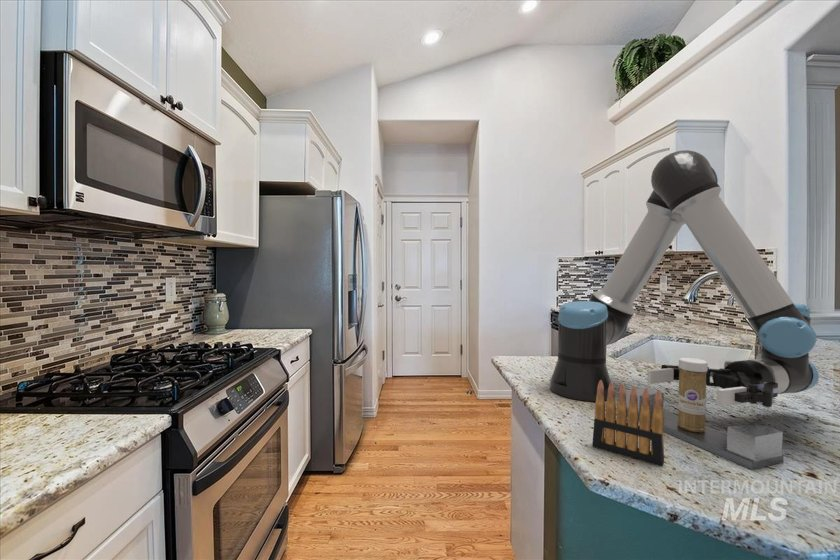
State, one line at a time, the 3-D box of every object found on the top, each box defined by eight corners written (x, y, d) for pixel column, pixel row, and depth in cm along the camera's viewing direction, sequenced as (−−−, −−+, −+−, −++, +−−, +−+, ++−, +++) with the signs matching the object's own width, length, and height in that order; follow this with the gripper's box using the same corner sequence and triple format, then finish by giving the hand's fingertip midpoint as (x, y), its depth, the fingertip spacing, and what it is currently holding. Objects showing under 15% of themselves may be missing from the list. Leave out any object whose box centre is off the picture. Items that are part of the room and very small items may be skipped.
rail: (621, 413, 84) (622, 390, 83) (648, 409, 86) (648, 387, 86) (752, 469, 60) (753, 437, 60) (783, 462, 63) (784, 431, 62)
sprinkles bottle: (680, 430, 72) (682, 360, 72) (674, 422, 76) (675, 355, 76) (709, 434, 70) (711, 363, 70) (701, 425, 74) (703, 358, 74)
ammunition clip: (592, 446, 67) (593, 380, 67) (594, 443, 69) (596, 377, 68) (662, 466, 61) (665, 392, 60) (664, 462, 62) (666, 390, 62)
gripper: (834, 418, 67) (756, 432, 60) (693, 379, 91) (625, 386, 84) (836, 376, 67) (758, 385, 60) (694, 348, 90) (626, 353, 84)
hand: (680, 386), depth 72 cm, fingers open, 13 cm apart
